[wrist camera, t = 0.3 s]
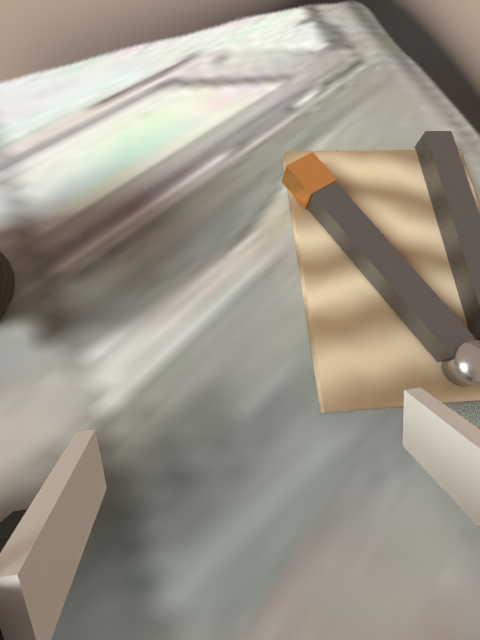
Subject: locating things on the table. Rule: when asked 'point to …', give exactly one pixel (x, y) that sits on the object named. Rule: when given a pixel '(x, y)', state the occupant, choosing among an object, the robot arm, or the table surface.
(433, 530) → the table surface
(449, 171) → the bar
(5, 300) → the beer stein
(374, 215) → the serving board
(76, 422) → the table surface
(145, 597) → the table surface
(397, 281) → the bar
